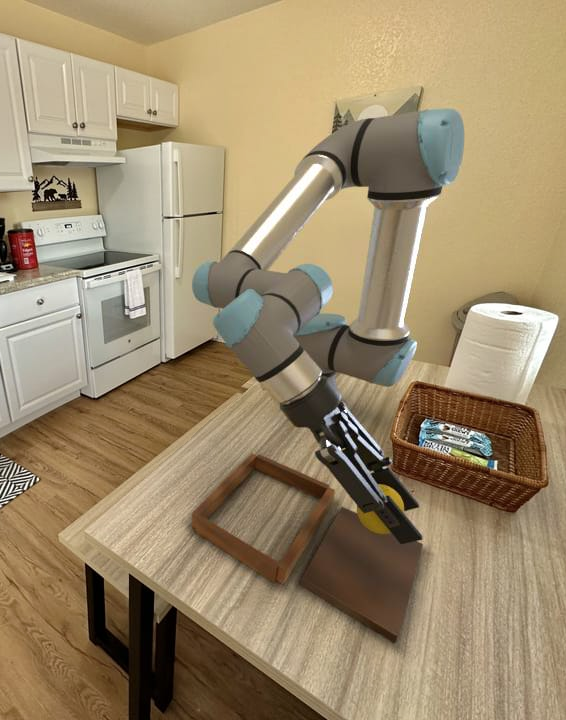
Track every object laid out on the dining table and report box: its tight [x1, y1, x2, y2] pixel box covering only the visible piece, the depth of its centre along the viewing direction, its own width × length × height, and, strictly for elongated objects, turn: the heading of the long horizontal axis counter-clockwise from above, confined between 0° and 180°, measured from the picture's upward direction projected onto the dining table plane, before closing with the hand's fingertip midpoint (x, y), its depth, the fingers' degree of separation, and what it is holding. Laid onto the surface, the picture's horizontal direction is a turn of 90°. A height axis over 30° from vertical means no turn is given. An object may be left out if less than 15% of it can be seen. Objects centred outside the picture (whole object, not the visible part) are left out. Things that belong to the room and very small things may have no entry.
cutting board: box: [300, 506, 424, 644], centre depth 58 cm, size 18×12×2 cm, turn 138°
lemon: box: [356, 484, 405, 534], centre depth 53 cm, size 6×6×8 cm
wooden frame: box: [191, 453, 336, 586], centre depth 67 cm, size 22×16×3 cm
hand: (409, 523), depth 52 cm, fingers closed on lemon, 5 cm apart
